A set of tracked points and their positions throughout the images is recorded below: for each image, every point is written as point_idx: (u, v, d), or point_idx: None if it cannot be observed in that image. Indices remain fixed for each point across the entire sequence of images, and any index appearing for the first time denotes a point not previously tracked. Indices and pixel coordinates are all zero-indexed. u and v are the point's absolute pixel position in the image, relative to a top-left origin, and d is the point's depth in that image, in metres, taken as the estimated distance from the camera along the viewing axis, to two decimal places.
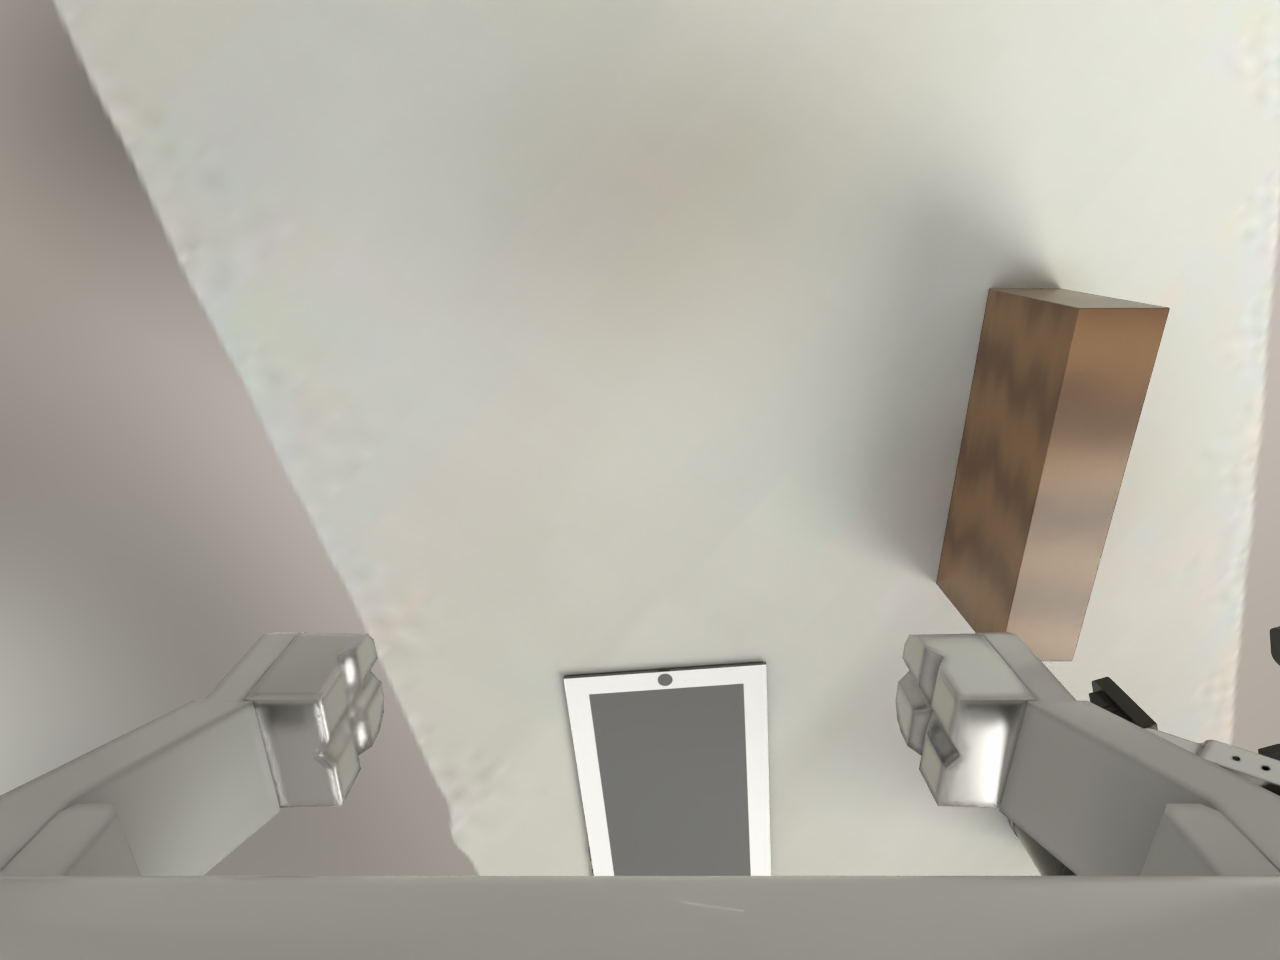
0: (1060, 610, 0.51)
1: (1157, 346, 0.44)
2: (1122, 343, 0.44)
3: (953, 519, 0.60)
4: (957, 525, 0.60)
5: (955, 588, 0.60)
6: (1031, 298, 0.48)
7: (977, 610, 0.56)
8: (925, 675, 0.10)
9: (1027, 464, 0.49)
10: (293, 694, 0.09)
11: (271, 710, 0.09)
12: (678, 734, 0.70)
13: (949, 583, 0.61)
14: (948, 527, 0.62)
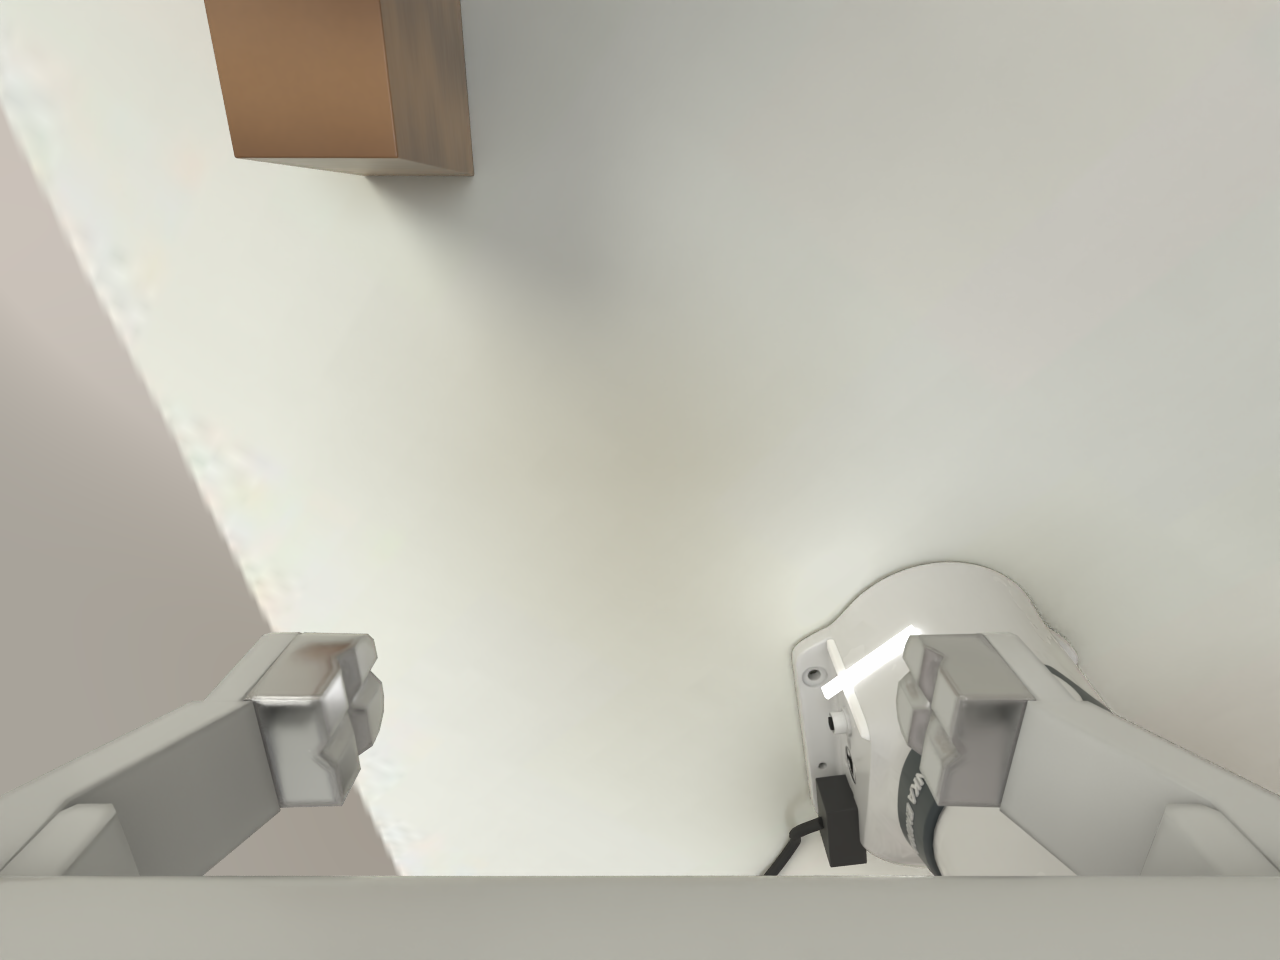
0: None
1: (222, 78, 0.23)
2: (290, 84, 0.23)
3: None
4: None
5: None
6: (440, 167, 0.29)
7: None
8: (925, 675, 0.10)
9: None
10: (293, 694, 0.09)
11: (271, 710, 0.09)
12: None
13: None
14: None
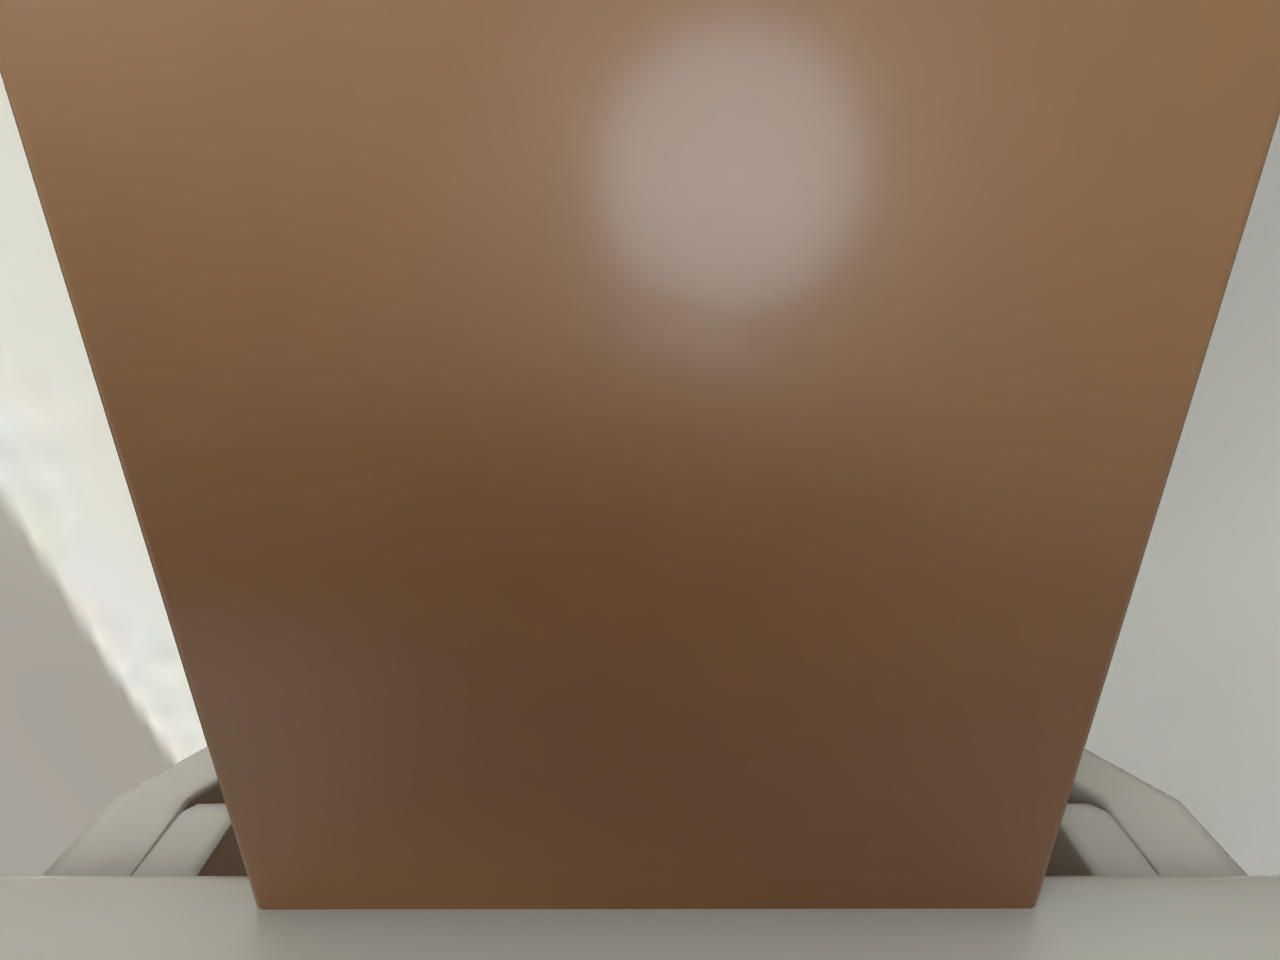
0: None
1: None
2: None
3: None
4: None
5: None
6: None
7: None
8: None
9: None
10: None
11: None
12: None
13: None
14: None
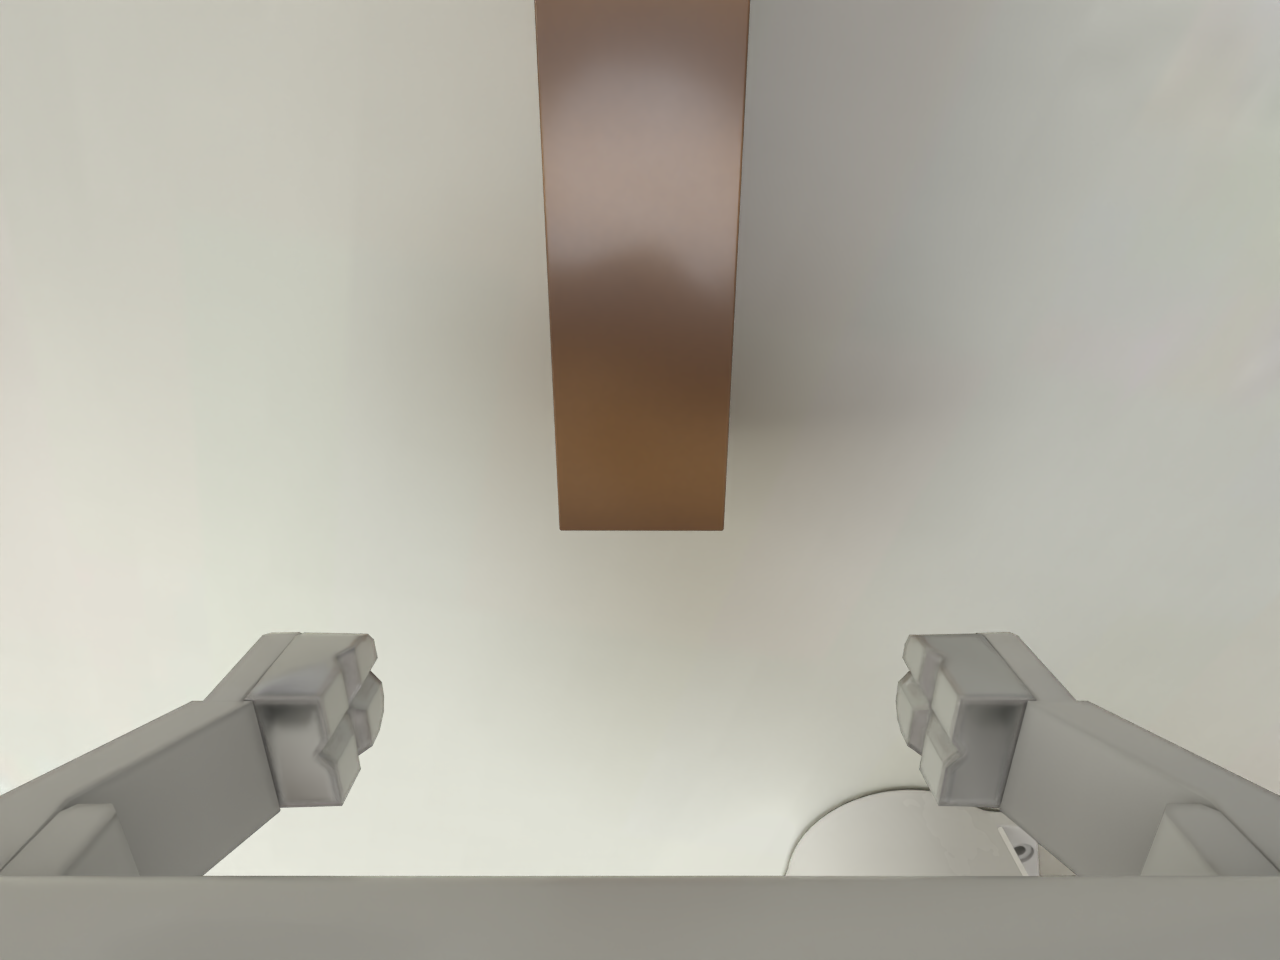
0: None
1: (560, 465, 0.23)
2: (627, 470, 0.23)
3: None
4: None
5: None
6: None
7: None
8: (925, 675, 0.10)
9: None
10: (293, 694, 0.09)
11: (271, 710, 0.09)
12: None
13: None
14: None
